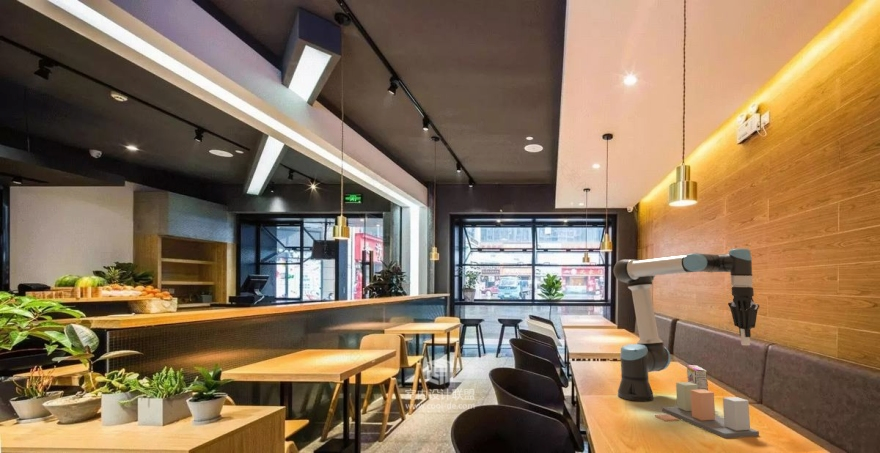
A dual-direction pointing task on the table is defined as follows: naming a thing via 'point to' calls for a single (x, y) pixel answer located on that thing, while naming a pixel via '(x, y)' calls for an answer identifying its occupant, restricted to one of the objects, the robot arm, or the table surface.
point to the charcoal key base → (710, 424)
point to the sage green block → (685, 395)
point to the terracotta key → (702, 404)
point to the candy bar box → (697, 376)
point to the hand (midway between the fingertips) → (745, 345)
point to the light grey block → (736, 413)
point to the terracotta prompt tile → (667, 417)
